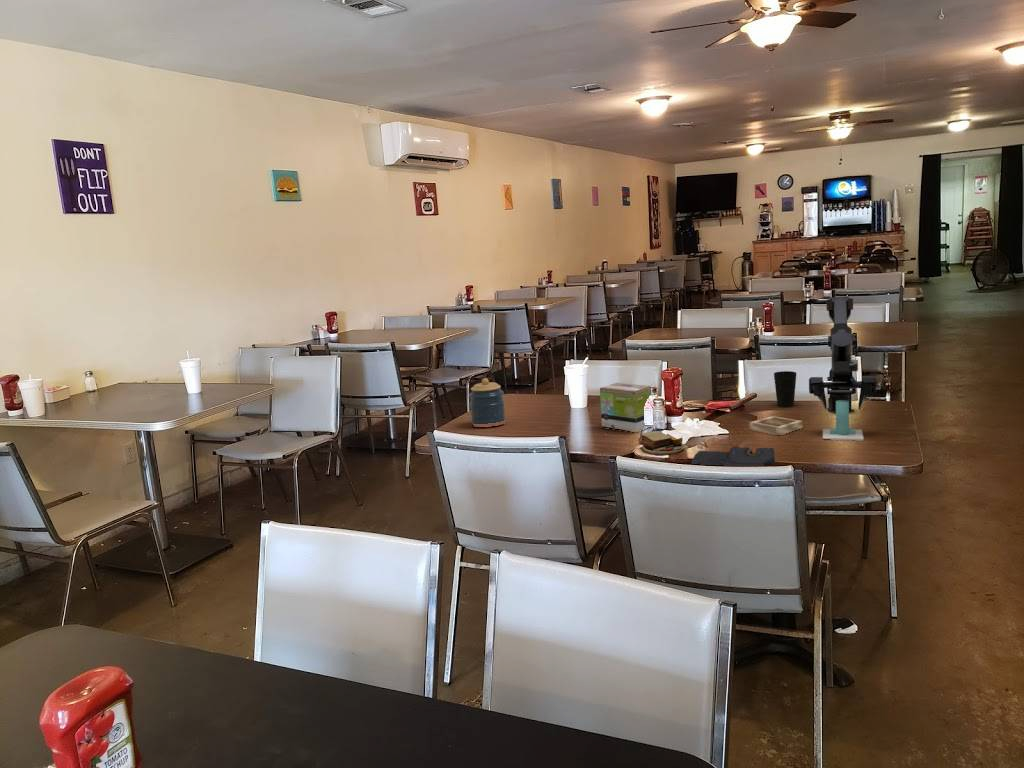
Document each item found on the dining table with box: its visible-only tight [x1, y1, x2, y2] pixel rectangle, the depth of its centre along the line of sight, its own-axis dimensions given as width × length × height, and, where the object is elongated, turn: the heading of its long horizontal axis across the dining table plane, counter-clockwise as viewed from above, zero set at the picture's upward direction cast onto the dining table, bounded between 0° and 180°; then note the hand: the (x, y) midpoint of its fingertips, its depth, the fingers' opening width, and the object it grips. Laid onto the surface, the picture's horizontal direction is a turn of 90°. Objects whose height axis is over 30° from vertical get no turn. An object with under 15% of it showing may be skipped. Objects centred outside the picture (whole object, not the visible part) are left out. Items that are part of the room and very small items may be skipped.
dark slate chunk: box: [691, 446, 776, 466], centre depth 207 cm, size 15×22×5 cm
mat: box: [822, 428, 865, 442], centre depth 227 cm, size 11×11×1 cm
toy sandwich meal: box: [638, 430, 685, 456], centre depth 228 cm, size 12×14×5 cm
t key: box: [829, 400, 856, 435], centre depth 226 cm, size 4×7×10 cm, turn 68°
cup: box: [773, 370, 797, 408], centre depth 271 cm, size 8×8×12 cm
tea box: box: [599, 382, 652, 431], centre depth 257 cm, size 15×10×15 cm, turn 45°
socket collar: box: [749, 415, 804, 436], centre depth 240 cm, size 11×11×2 cm
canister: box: [468, 377, 507, 424], centre depth 279 cm, size 13×13×18 cm
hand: (842, 408), depth 224 cm, fingers open, 9 cm apart
